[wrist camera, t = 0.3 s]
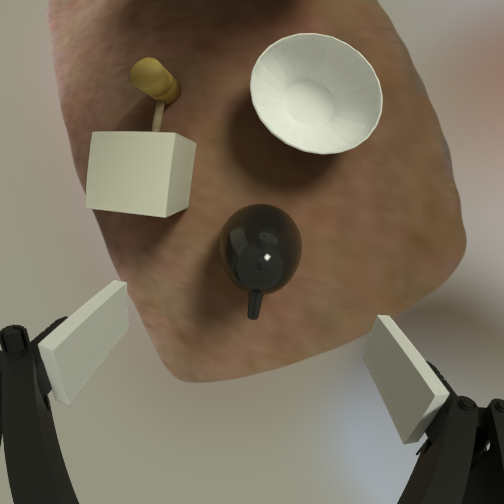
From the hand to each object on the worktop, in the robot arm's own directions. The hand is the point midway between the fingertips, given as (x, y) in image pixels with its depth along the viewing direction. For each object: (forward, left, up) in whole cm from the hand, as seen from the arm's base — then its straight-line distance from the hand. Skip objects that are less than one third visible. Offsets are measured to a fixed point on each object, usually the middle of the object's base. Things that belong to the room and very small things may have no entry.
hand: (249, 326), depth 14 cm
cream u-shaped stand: (-6, -15, -27) cm, 31 cm away
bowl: (-19, +5, -27) cm, 33 cm away
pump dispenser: (+1, +1, -27) cm, 27 cm away
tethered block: (-12, -15, -27) cm, 33 cm away
